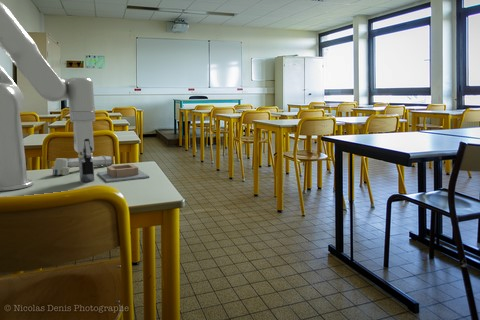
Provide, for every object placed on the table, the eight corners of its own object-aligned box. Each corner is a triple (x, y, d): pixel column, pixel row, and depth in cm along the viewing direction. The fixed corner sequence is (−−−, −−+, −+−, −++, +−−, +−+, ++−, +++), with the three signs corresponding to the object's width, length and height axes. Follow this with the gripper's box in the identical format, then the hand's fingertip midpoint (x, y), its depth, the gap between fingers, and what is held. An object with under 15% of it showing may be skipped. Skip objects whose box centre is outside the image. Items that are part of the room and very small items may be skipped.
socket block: (106, 182, 128) (106, 173, 127) (97, 173, 141) (96, 165, 141) (149, 177, 134) (148, 168, 134) (136, 169, 148) (136, 161, 148)
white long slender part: (114, 156, 158) (58, 156, 136) (113, 172, 158) (57, 175, 136) (105, 155, 160) (48, 155, 139) (104, 171, 161) (47, 174, 139)
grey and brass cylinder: (81, 182, 127) (79, 155, 126) (79, 180, 131) (77, 153, 130) (95, 181, 130) (93, 154, 128) (93, 178, 133) (91, 152, 132)
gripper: (66, 116, 132) (71, 169, 135) (73, 118, 118) (78, 178, 121) (90, 115, 136) (94, 167, 139) (99, 117, 121) (103, 176, 125)
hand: (86, 172), depth 130 cm, fingers closed on grey and brass cylinder, 4 cm apart
